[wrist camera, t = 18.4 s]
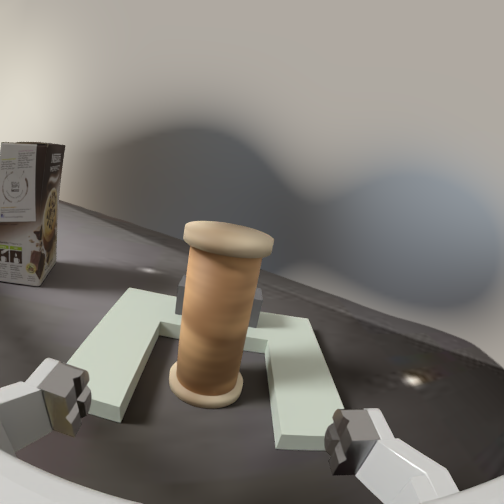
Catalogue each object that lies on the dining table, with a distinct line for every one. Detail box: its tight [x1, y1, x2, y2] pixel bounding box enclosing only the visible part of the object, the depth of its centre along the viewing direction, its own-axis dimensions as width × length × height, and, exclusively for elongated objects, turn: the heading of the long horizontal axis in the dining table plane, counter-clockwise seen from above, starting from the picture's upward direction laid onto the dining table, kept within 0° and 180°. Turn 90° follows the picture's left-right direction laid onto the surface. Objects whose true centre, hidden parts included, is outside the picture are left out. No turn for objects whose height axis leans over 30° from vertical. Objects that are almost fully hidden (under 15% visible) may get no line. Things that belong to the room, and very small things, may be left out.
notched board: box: [66, 275, 344, 450], centre depth 26 cm, size 20×18×4 cm
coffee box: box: [0, 142, 65, 286], centre depth 32 cm, size 9×6×16 cm
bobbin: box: [169, 221, 274, 409], centre depth 22 cm, size 6×6×12 cm
